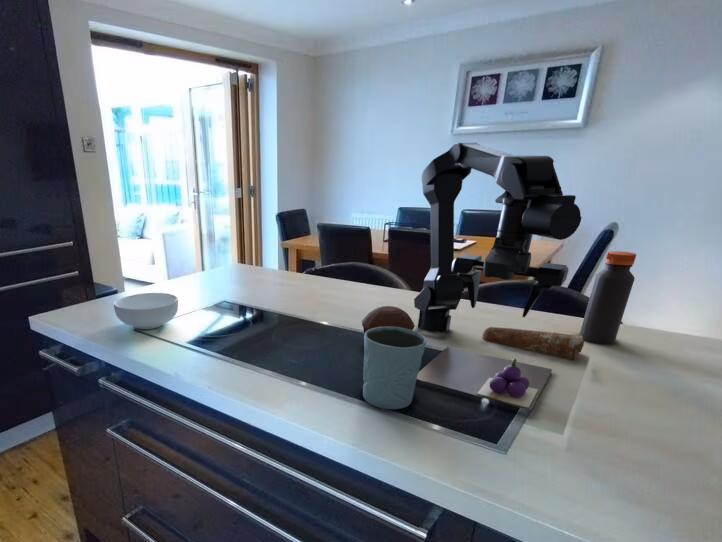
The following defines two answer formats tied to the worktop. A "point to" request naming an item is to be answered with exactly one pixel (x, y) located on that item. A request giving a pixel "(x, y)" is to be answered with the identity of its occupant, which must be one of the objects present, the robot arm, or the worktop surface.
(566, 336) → the bread
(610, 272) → the bottle
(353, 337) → the worktop surface
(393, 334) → the grey green cup
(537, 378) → the serving board
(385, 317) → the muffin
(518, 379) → the grapes
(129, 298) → the cereal bowl
